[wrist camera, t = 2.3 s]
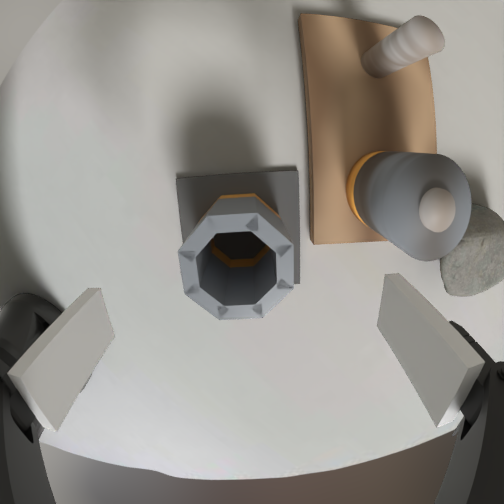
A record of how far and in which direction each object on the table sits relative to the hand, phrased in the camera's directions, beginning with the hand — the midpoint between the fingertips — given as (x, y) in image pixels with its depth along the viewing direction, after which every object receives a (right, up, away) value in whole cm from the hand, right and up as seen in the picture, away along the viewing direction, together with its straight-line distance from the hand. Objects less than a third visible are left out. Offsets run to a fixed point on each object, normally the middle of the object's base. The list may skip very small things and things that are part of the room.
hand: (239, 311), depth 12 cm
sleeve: (0, +4, +12) cm, 13 cm away
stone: (+22, +4, +13) cm, 26 cm away
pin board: (+11, +13, +9) cm, 20 cm away
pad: (0, +4, +12) cm, 13 cm away
